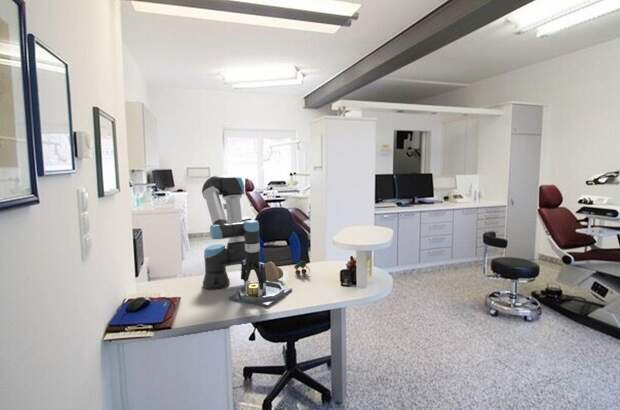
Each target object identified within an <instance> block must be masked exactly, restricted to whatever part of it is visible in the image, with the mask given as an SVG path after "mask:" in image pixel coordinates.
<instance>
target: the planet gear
mask: <svg viewBox="0 0 620 410" xmlns="http://www.w3.org/2000/svg"><path fill="white" fill-rule="evenodd" d="M248 296H253V297H260V296H258V284H250V285H248Z"/></svg>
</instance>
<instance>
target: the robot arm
mask: <svg viewBox="0 0 620 410" xmlns="http://www.w3.org/2000/svg"><path fill="white" fill-rule="evenodd" d="M244 193H245V184H244V181H243V178H242V177H241V176H240V175H234V174H232V175H214V176H210V177H209V178H208V179H206V180H205V182H204V183H203V186H202V188H201V194H202V197H203V199H204V200H205V202H206V205H207V210H208V212H209V216H210V220H211V225H210V227H209V233H210V237H211V238H210V239H212V240H223V239H229V240H228V242H227V243H226V244H227V245H225V244H223V243H215V244H212V245H209V246H207V247H206V248H204V251H203V253H204V254H203V255H204V256H203V258H204V271H205V272H204V273H205V274H204V277H203V281H202V288H204V289H206V290H221V289H224V288H227V287H228V286H229V285H230V284H231V283H230V280H231V279H230V278H229V275H228V272H227V267H230V266H237V265H241V269H240V280H242V281H244V282H243V283H244V285H245V287H246V294H248V285H250V283H251V282H250V281H251V280H250V275H251V271H252V270H253V271H254V272H255V275H256V278H257V280H258V281H257V282H259V283H258V296H261V295H262V289H263V283H264V282H266V281H267V280H266V273H265V264H266V263H265V262H261V260H260V259H261V247H260V246H261V244H260V223H259V220H255V219H249V220H243V218H242V217H243V215H242V207H241V199H242V197H243V194H244ZM220 196H222V197H220ZM221 198H222V199H223V200H224V201H225V210H226V214H225V211H224V208H223V204H222V201H221ZM260 271H261V272H260ZM244 285H243V286H244Z"/></svg>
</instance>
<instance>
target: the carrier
mask: <svg viewBox="0 0 620 410" xmlns="http://www.w3.org/2000/svg"><path fill="white" fill-rule="evenodd" d="M258 283H259V281H254V282H250V284H258ZM292 291H293V287H289V286H283V285H282V284H281V283H280V282H278V281H277V282H271V281H266V282H264V283H263V289H262V295H261V296H260V297H253V296H248V294H246V287H245V285H243V286H240V287H239V288H238V291H237V292H235V293H234V294H232V295H229V296H228V299H229V301H233V300H234V301H233V302H238V301H239V302H238V303H243V302H244V303H243V304H248V303H249V305H252V304H253V306H257V305H258V307H263V308H270V307H272V305H274V304H276V303H277V302H279V300H282V298H284V297H286V296H287V295H288V294H289V293H291V292H292Z"/></svg>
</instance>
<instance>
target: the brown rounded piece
mask: <svg viewBox="0 0 620 410" xmlns="http://www.w3.org/2000/svg"><path fill="white" fill-rule="evenodd" d="M260 272H261V271H260ZM265 273H266V280H267V281H271V282H277V283H278V282H279V280H281V279H282V278H283V277H284V272H283V269H282V268H280V267H278V266H276V264H275V263H274V262H272V261H268V262H266V263H265Z"/></svg>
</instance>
